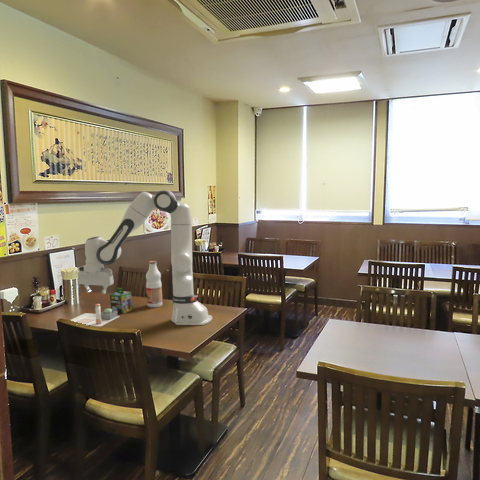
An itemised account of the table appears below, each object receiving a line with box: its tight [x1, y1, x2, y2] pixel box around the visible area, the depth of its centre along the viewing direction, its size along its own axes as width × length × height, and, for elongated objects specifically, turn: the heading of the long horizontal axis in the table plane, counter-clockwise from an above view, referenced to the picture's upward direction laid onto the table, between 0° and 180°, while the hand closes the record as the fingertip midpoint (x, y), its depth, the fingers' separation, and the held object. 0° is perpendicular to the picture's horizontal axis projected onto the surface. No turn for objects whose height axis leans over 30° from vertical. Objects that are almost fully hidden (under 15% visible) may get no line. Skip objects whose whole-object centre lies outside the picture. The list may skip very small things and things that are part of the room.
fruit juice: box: [145, 260, 163, 308], centre depth 241 cm, size 9×9×28 cm
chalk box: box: [109, 287, 134, 315], centre depth 230 cm, size 9×9×15 cm
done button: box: [104, 307, 112, 314], centre depth 218 cm, size 4×4×3 cm
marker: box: [94, 303, 102, 324], centre depth 208 cm, size 3×3×10 cm
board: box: [70, 310, 121, 327], centre depth 216 cm, size 24×18×4 cm
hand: (96, 292), depth 207 cm, fingers open, 8 cm apart
